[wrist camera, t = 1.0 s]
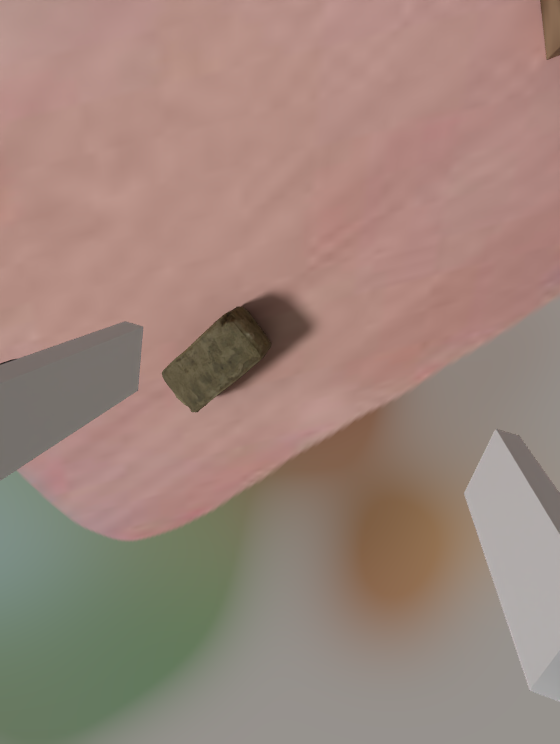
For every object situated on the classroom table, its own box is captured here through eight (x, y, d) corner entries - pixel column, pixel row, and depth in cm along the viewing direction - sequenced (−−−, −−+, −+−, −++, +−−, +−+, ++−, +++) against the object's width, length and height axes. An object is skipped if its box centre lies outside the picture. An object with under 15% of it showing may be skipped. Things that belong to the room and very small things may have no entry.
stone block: (279, 341, 41) (267, 355, 36) (209, 401, 46) (190, 421, 41) (242, 299, 40) (225, 308, 36) (175, 364, 45) (152, 380, 40)
